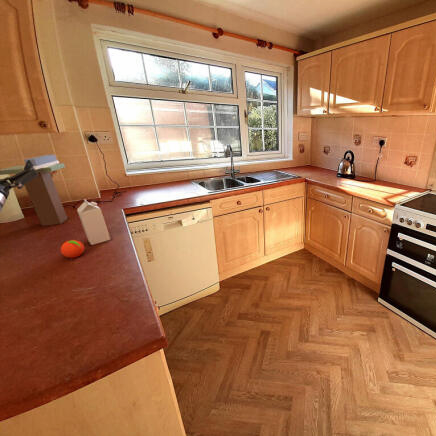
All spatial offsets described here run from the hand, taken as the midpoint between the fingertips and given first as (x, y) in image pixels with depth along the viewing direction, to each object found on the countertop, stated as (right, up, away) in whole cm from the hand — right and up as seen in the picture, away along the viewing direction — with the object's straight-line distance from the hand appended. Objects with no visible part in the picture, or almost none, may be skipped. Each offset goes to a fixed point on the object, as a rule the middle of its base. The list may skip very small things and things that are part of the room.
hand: (9, 164), depth 102 cm
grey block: (-6, +3, +19) cm, 20 cm away
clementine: (+32, -38, -5) cm, 50 cm away
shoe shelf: (-10, -25, +30) cm, 41 cm away
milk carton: (+31, -33, +9) cm, 46 cm away
